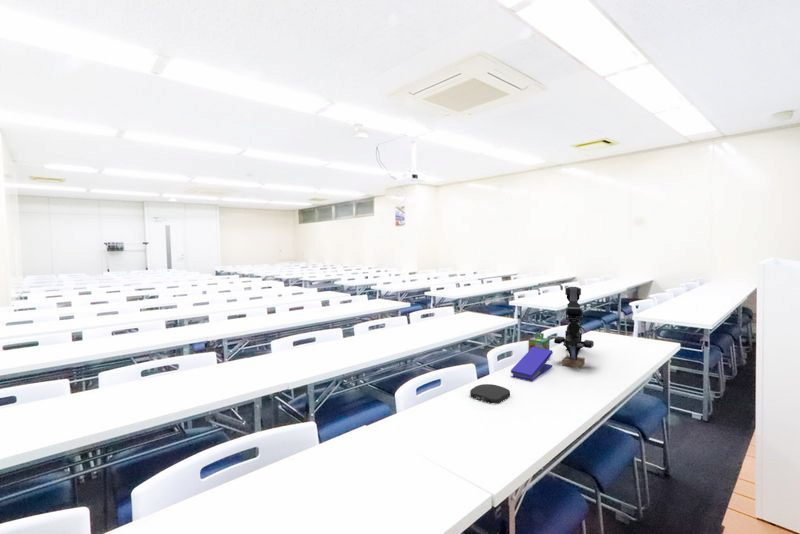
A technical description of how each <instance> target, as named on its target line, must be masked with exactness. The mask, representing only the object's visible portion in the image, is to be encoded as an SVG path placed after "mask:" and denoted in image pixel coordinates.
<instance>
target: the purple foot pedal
mask: <svg viewBox="0 0 800 534" xmlns="http://www.w3.org/2000/svg"><path fill="white" fill-rule="evenodd" d="M553 353H554V351H553V350H551V349H549V350H547V349H541V348H536V347H532V348H531V349H530V350H529V352H527V353H526V354H524V355H523V357H522V358H521V359H520V360H519V361H518V362H517V363H516V364H515V365H514V366H513V367H512V368H511V370H510V373H511V374H512V378H515V377H516V378H515V379H519V378H520V379H519V380H524V379H525V380H524V381H528V380H529V382H534V381H535V380H537V378H539V377H540V376H542V375H543V374H545V373H546V372H547V371H549V370H550V369H551V368H553V366H554V365H553V364H549V363H547V362H548V360H549V359H550V358H551V357H552V355H553Z"/></svg>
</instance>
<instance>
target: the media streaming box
mask: <svg viewBox="0 0 800 534" xmlns="http://www.w3.org/2000/svg"><path fill="white" fill-rule="evenodd" d="M469 395H471V396H470V397H471V398H472V397H474V398H473V399H475V398H477V399H476V400H478V399H479V400H478V401H481V400H482V401H481V402H484V401H486V402H485V403H487V402H489V403H488V404H491V403H497V404H500V403H502V402H504V401H506V400H507V399H509V398H510V397H511V391H510V390H509V389H508V388H507V387H505V386H500V385H497V384H492V383H490V384H488V383H485V384H479V385H476V386H474V387H473V388H471V389H470V391H469ZM508 397H509V398H508ZM505 399H506V400H505ZM503 400H504V401H503ZM501 401H502V402H501Z"/></svg>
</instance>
